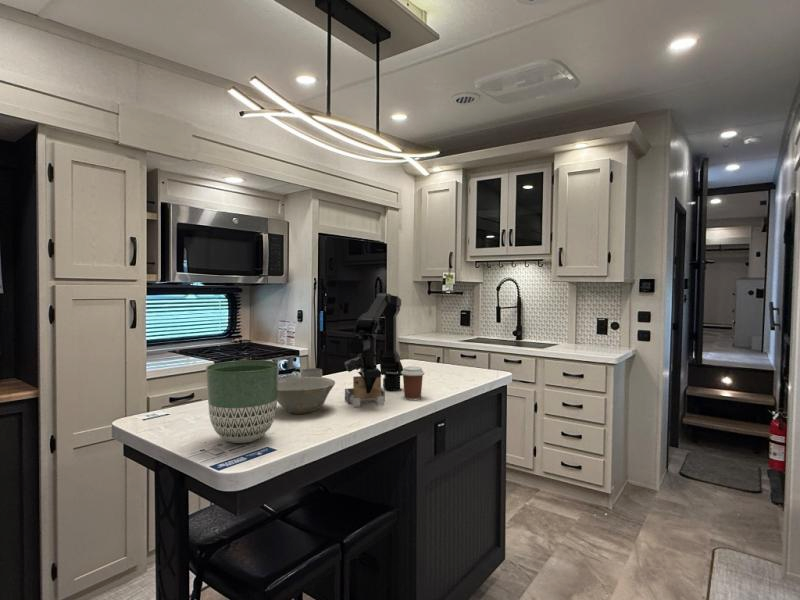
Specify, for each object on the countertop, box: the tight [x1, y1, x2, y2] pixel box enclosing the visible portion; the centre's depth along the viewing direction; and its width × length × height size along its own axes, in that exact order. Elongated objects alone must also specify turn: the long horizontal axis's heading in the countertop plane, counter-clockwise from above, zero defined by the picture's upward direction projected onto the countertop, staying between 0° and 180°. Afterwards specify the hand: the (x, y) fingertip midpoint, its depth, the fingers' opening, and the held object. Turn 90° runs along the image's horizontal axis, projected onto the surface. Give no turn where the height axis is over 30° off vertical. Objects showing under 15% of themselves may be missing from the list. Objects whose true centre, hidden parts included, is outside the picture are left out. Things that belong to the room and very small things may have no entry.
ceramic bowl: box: [277, 376, 336, 415], centre depth 165 cm, size 22×23×10 cm
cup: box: [300, 367, 323, 378], centre depth 189 cm, size 8×8×10 cm
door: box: [352, 375, 382, 399], centre depth 174 cm, size 10×3×8 cm, turn 105°
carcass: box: [344, 387, 386, 408], centre depth 178 cm, size 14×12×4 cm
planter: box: [205, 359, 280, 444], centre depth 133 cm, size 20×20×21 cm
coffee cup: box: [401, 365, 425, 401], centre depth 184 cm, size 9×9×12 cm
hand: (367, 392), depth 174 cm, fingers closed on door, 2 cm apart
